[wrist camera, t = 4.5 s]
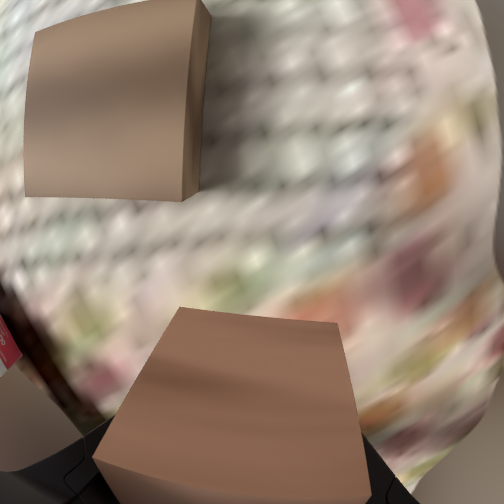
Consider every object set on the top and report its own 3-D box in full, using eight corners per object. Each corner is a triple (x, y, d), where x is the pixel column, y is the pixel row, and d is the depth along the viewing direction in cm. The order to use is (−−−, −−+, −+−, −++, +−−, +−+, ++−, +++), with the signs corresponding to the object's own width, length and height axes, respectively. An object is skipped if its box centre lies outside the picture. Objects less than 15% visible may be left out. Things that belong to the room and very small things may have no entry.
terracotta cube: (310, 424, 11) (311, 558, 6) (187, 410, 12) (143, 535, 6) (337, 323, 10) (371, 495, 4) (179, 306, 10) (92, 457, 4)
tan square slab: (198, 191, 17) (181, 201, 14) (55, 188, 17) (25, 197, 15) (211, 16, 13) (197, -6, 10) (63, 41, 14) (35, 32, 11)
